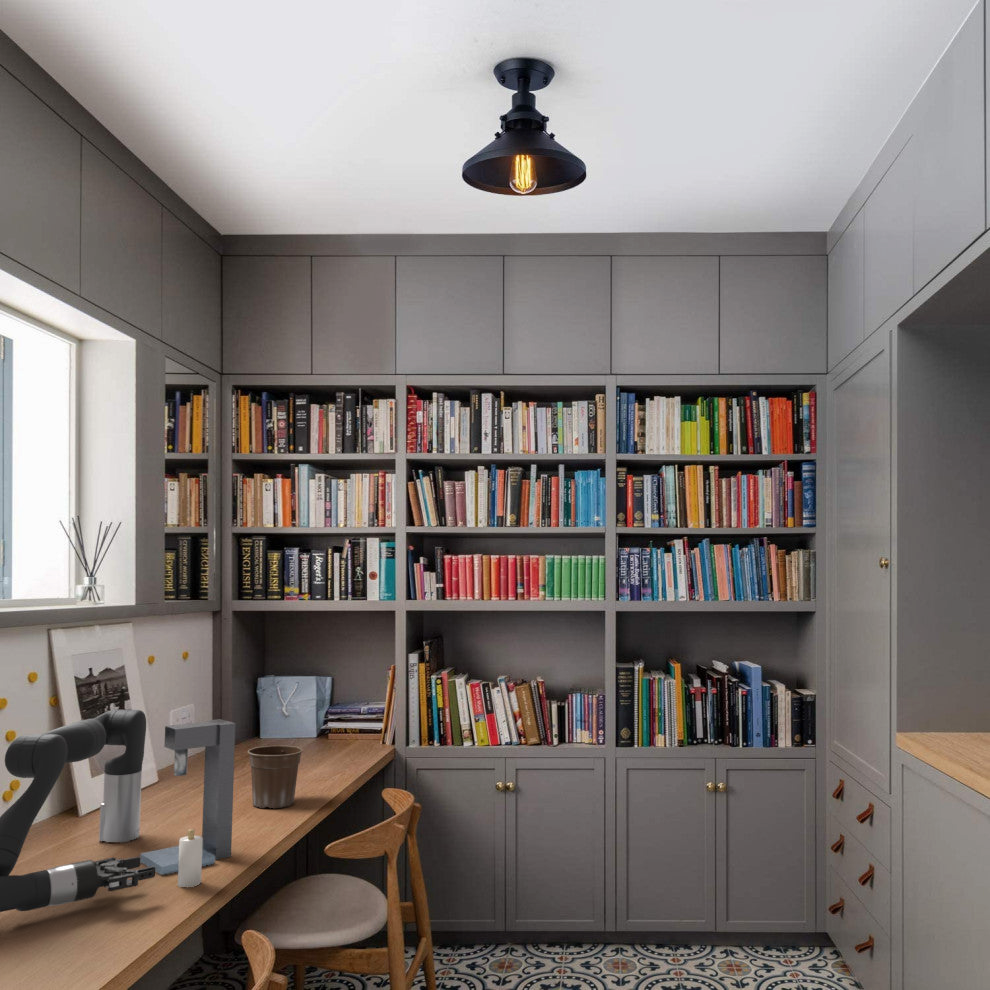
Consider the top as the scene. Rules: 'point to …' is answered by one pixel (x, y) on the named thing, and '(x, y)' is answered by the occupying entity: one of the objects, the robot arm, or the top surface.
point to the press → (216, 789)
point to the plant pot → (274, 775)
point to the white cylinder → (190, 860)
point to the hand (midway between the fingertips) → (147, 866)
